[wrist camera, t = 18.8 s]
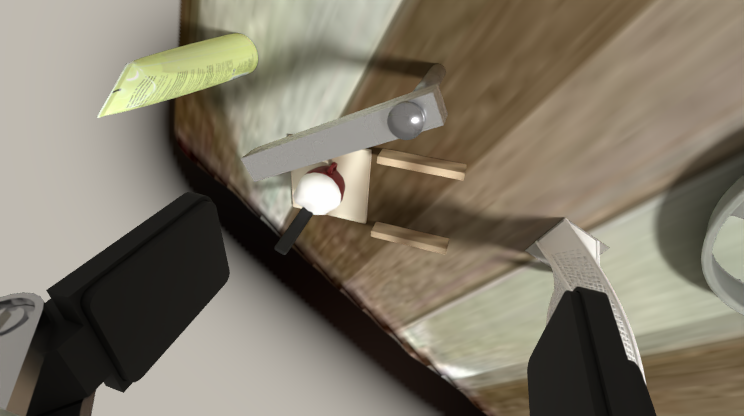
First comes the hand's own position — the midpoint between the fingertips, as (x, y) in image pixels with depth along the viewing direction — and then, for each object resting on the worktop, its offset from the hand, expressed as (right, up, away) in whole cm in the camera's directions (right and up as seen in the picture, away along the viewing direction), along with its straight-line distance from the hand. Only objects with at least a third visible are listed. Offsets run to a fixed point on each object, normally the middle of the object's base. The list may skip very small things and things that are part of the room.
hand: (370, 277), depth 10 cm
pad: (-6, +6, +44) cm, 44 cm away
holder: (+6, +3, +41) cm, 42 cm away
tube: (-16, +22, +37) cm, 46 cm away
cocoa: (-6, +6, +43) cm, 44 cm away
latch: (+1, +16, +35) cm, 38 cm away
